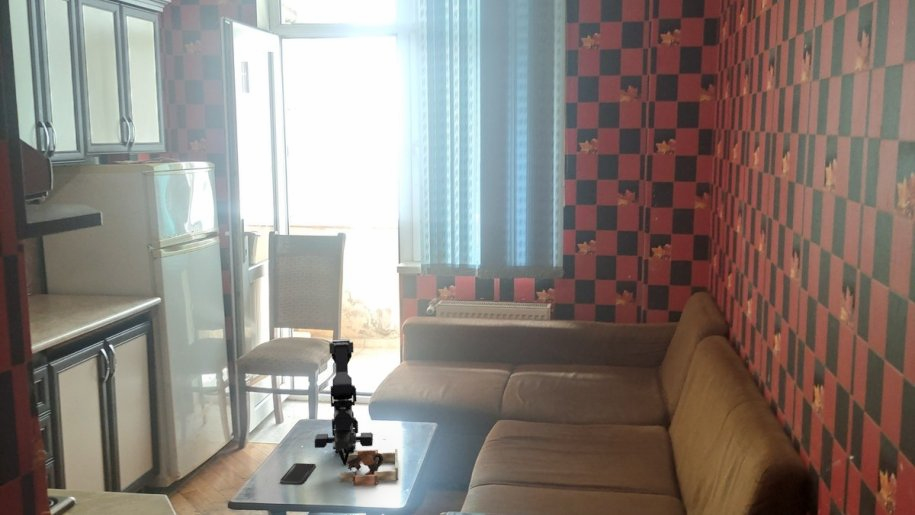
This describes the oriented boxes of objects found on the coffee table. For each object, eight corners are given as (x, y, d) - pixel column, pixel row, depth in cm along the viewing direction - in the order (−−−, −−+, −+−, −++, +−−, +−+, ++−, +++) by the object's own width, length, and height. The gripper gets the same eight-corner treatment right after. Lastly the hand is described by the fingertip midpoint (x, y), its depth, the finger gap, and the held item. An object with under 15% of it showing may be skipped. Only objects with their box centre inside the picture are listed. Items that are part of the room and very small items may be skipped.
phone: (279, 481, 263) (294, 462, 278) (279, 484, 264) (294, 466, 278) (302, 482, 262) (317, 463, 277) (303, 485, 263) (317, 467, 277)
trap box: (339, 486, 260) (339, 474, 260) (343, 459, 282) (343, 448, 282) (398, 483, 262) (397, 471, 261) (397, 457, 284) (397, 446, 283)
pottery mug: (361, 484, 263) (349, 461, 263) (352, 487, 271) (340, 464, 271) (392, 466, 269) (380, 443, 270) (382, 470, 277) (371, 447, 278)
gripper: (312, 428, 260) (313, 475, 263) (371, 426, 262) (372, 473, 264) (315, 417, 271) (317, 462, 274) (372, 415, 273) (373, 460, 275)
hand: (344, 464), depth 271 cm, fingers closed
